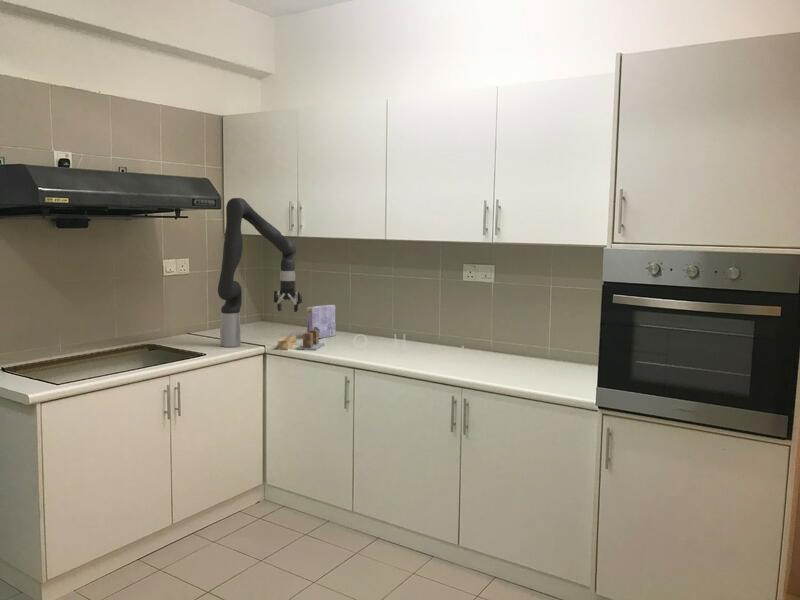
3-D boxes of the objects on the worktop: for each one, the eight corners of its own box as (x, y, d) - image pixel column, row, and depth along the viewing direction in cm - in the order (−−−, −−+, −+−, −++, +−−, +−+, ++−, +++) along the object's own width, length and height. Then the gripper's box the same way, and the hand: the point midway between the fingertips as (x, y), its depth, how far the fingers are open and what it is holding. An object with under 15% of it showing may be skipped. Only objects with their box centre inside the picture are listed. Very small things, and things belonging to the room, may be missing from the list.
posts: (303, 347, 323) (302, 333, 322) (311, 342, 336) (311, 329, 335) (310, 348, 322) (310, 334, 321) (318, 343, 335) (318, 329, 334)
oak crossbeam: (277, 350, 322) (277, 340, 322) (286, 344, 337) (286, 335, 336) (287, 350, 322) (287, 340, 321) (296, 344, 336) (296, 335, 336)
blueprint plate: (296, 349, 323) (296, 347, 323) (306, 344, 337) (306, 342, 337) (316, 350, 321) (316, 348, 321) (324, 345, 335) (324, 343, 335)
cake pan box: (331, 334, 366) (331, 303, 364) (337, 335, 363) (337, 304, 361) (306, 339, 351) (305, 307, 349) (312, 340, 348) (312, 307, 346)
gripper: (271, 279, 323) (271, 311, 325) (298, 280, 320) (298, 313, 322) (277, 278, 330) (277, 309, 332) (303, 279, 327) (303, 311, 329)
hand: (287, 311), depth 327 cm, fingers open, 8 cm apart
